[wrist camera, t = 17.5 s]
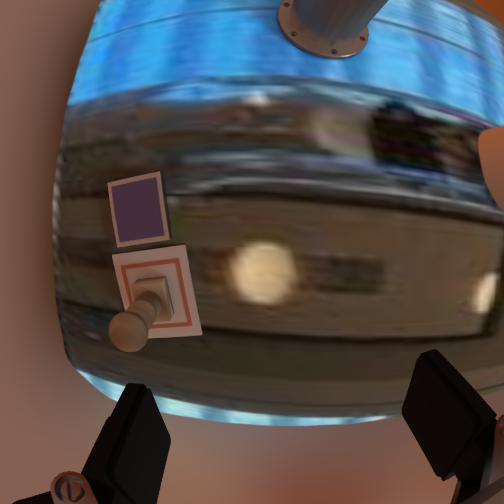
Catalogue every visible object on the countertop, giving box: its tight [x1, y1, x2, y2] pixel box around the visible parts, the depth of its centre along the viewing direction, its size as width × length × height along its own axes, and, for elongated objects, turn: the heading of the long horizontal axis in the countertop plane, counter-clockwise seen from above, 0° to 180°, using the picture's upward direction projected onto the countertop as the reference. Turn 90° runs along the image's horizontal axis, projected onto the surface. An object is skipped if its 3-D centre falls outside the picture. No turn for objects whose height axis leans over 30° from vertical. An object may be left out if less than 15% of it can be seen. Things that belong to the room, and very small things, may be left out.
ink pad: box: [108, 171, 172, 247], centre depth 31 cm, size 8×7×2 cm
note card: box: [112, 245, 202, 338], centre depth 34 cm, size 12×10×1 cm
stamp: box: [109, 276, 174, 352], centre depth 28 cm, size 5×4×12 cm
